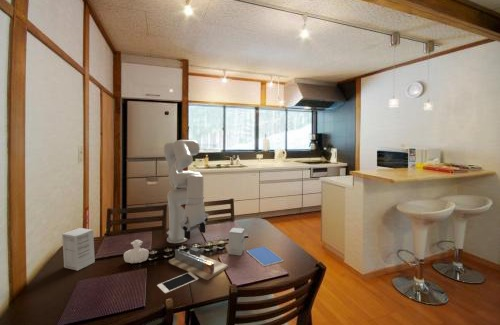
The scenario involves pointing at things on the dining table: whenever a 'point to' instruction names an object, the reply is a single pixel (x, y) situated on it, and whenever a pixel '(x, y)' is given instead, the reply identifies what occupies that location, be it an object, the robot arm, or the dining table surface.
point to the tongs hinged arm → (200, 259)
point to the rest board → (217, 269)
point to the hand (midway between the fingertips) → (195, 235)
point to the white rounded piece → (136, 253)
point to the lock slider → (194, 251)
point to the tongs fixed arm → (193, 262)
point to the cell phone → (177, 282)
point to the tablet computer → (264, 256)
